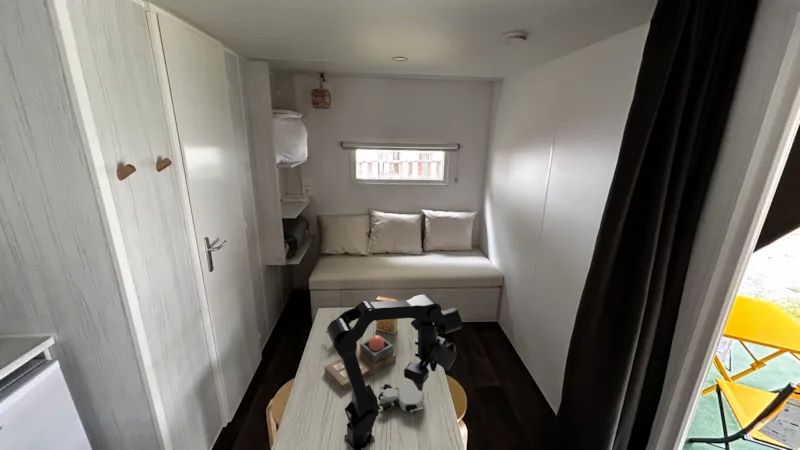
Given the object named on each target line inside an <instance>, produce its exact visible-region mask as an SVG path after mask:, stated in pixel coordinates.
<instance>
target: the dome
mask: <svg viewBox="0 0 800 450" xmlns="http://www.w3.org/2000/svg"><path fill="white" fill-rule="evenodd" d="M379 335H380V334H379ZM379 335H378V334H375V335H374V334H373V336H371V337H370V338H369V339H370V340H369V349H371V350H372V351H373V352H374V353H376V352H377V351H379V350H381V349H383V348H384V339H385V338H384V337H383V336H382V335H380V336H379ZM382 337H383V338H384V339H383V338H382Z"/></svg>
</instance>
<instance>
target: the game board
mask: <svg viewBox="0 0 800 450" xmlns="http://www.w3.org/2000/svg"><path fill="white" fill-rule="evenodd" d="M377 335H379V336H381V335H380V334H377ZM381 337H382V338H383V339H384V348H383V349H381V350H379V351H377V352H376V353H374V352H373V351H372V350H371V349H369V340H370V338H369V339H367V340H365V341H363V342H361V343H359V349H358V348H357V350H356V356H357V359H358V362H359V366H360V369H361V372H362V375H363V378H364V380H365V379H366V378H368V377H370V376H372V375H374V374H375V373H376V372H378V371H380V370H381V369H383V368H385V367H386V366H388V365H390V364H392V363H393V362H396V359H397V358H396V357H397V356H396V355H397V354H395V353H394V344H392V343H391V342H390V341H388V340H387V339H386V338H385V337H383V336H381ZM323 368H324V373H325V374H326V376H327V377H328V378H329V379H330V380H331V381H332V382H333V384H335V385H336V386H337V388H338V389H340V390H341V392H344V391H346V390H348V389H350V388H351V385H350V382H349V379H348V376H347V373H346V370H345V367H344V364H343V361H342V358H341V357H340V358H339V359H337V360H335V361H333V362H331V363H330V364H327V365H325V366H324V367H323Z"/></svg>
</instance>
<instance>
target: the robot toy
mask: <svg viewBox="0 0 800 450" xmlns="http://www.w3.org/2000/svg"><path fill="white" fill-rule="evenodd" d="M379 389H381V391H380V392H379V395H378V396H377V400H378V401H379V402H380V404H381V405H379V406H380V409H378V411H379V413H382V412H387V411H389V410H391V408H392V407H393V406H394V407H396V406H400V409H402V410H403V411H404V412H410V413H413V412H414V413H415V412H418V411H419V410H423V409H424V407H423V406H424V403H425V392H424V388H423V389H422V391H419V390H418V389H417V387H416V385H415V384H414V382H413V381H412V380H410V381H405V382H403V383H402V384H401V385H400V387H399V388H397V387H395V388H393V387H392V386H391V385H390V384H387V383H384V384H383V383H381V384H380V385H379Z"/></svg>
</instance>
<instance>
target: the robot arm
mask: <svg viewBox="0 0 800 450" xmlns="http://www.w3.org/2000/svg"><path fill="white" fill-rule="evenodd" d="M389 319H397V320H399V319H413V320H411V322H410V325H411V326H412V327H413V329H414V330H416V331H417V338H416V339H415V341H414V344H415V345H417V350H416V352H415V353H414V357H417V358H419V360H420V361H419V362H415V361H413V360H412V361H410V362H409V363H408V364H407V366H406V367H404V369H403V376H404V378H405V379H407V380H410V381H412V382H414V384H415V385H416V387H417V389H418V390H419V391H422V389H423V390H424V384H425V382H426V381H427V380H428V378H429V377H430V376H429V373H430V371H431V372H436V369H437V366H440V367H442V368H443V370H445V371H449V370H450V369H451V367H452V366H453V363H454V361H455V359H456V358H457V355H458V352H457V344H456V343H454V342H450V343H449V341H448V340H447V339H446V338H445V337H441V336H438V332H440V333H441V334H443V335H445V334H448V333H451V332H455V331H457V330H460V329H462V328H463V321H462V317H461V315H460V311H459V309H457V308H456V307H455V306H454V307H450V308H448V309H445V310H442V306H441V305H440V304H439V302H438V301H436V300H435V299H434V298H433V297H431V296H430V295H429V294H427V293H423V294H419V295H415V296H413V297H411V298H410V299H403V300H398V301H380V302H376V301H368V300H362V301H361V302H359V303H358V304H357V306H355V307H353V308H351V309H348V310H346V311H344V312H342V313H341V314H340V315H339V316H338V317H337V318H335V319H334V320H332V321H331V322H330V323H329V324H328V326H327V327H326V328H327V329H326V331H327V332H328V333H327V334H328V336H329V339H330V341H331V343H332V345H333V347H334V350H335V351H336V352H337V354H338V356H339V357H340V359H341V358H342V361H343V364H344V367H345V370H346V373H347V376H348V379H349V382H350V385H351V387H350V388H351V393H350V394H351V401H350V402H349V403H348V405H346V406H345V408H344V411H345V414H346V417H347V420H348V422H347V424H346V434H345V435H344V437H343V438H344V440H345V441H346V442H347V443H348V444H349V446H350V447H351V448H352V450H363V449H364V448H366V447H367V446H368V445H370V444H371V443H372V442H374V441H375V436H374V435H373V427H374V425H375V422H376V420H377V417H378V416H379V414H380V412H379V411H378V409H380V406H381V405H379V402H378V401H379V400H378V396H376V394H375V391H374V389H373V387H372V385H371V384H370V383H369V384H367V385H366V382H365V379H364V378H363V375H362V372H361V369H360V366H359V362H358V359H357V356H356V350H358V344H357V343H358V341H359V340H360V339H362V337H363V336H364V334H365V333H366V331H367V329H368V327H369V326H370V325H371V324H372V323H373V322H374V321H375V322H376V320H389ZM355 320H357V321H356V323H355V324H354V326H352V327H353V328H352V329H351V327H350V326H351V325H350V324H351V323H352V322H354V321H355ZM429 366H430V369H428V367H429ZM429 370H430V371H429Z"/></svg>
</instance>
